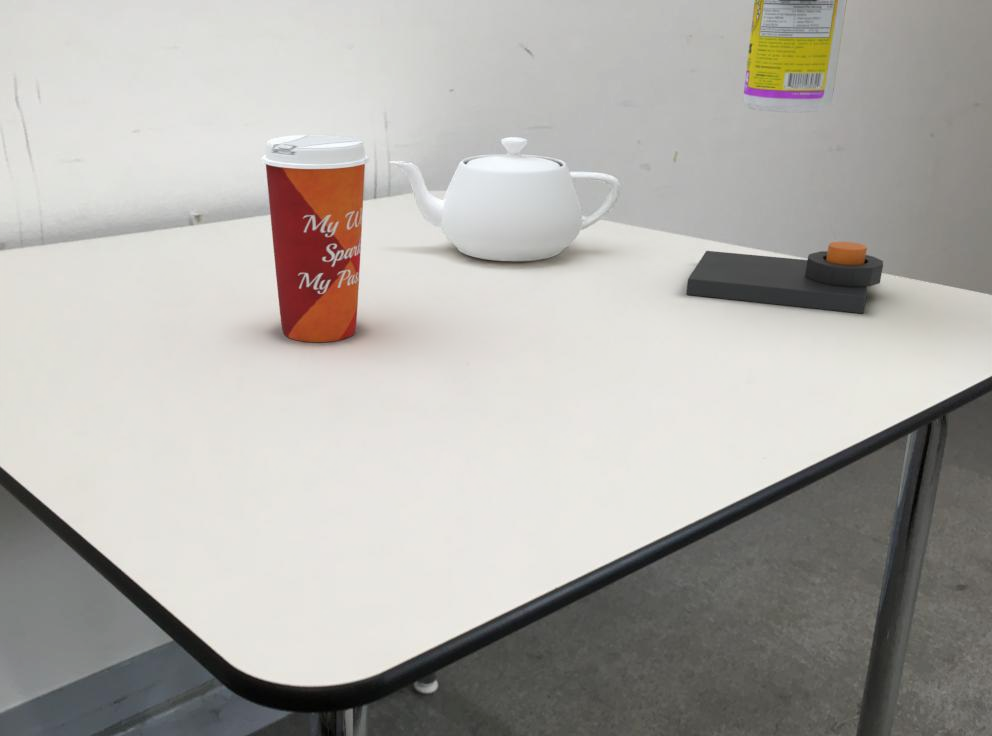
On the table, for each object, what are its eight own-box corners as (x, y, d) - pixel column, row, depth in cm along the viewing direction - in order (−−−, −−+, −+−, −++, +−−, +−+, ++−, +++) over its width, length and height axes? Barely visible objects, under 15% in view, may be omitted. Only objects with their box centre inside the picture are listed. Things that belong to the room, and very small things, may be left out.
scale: (877, 282, 97) (883, 248, 95) (876, 315, 87) (883, 278, 86) (704, 265, 102) (708, 233, 101) (685, 294, 93) (690, 259, 91)
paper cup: (324, 353, 78) (320, 152, 72) (246, 333, 82) (237, 141, 76) (391, 328, 83) (392, 139, 78) (315, 310, 88) (311, 130, 82)
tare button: (864, 261, 93) (867, 243, 92) (863, 269, 90) (866, 251, 90) (826, 258, 94) (829, 240, 93) (824, 265, 91) (827, 247, 91)
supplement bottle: (768, 102, 90) (791, -69, 85) (845, 109, 86) (874, -72, 81) (725, 108, 86) (746, -72, 81) (804, 115, 82) (832, -75, 77)
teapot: (604, 237, 112) (613, 129, 108) (626, 270, 100) (637, 149, 95) (390, 234, 113) (391, 127, 109) (385, 267, 100) (386, 147, 96)
